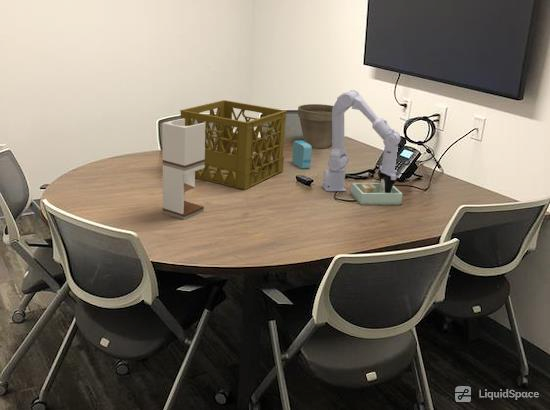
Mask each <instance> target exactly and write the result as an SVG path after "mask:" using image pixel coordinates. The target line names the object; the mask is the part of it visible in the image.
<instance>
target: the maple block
mask: <svg viewBox="0 0 550 410" xmlns="http://www.w3.org/2000/svg"><path fill="white" fill-rule="evenodd" d="M361 191H362V192H363V193H376V187H375V186H374V185H372V184H361Z"/></svg>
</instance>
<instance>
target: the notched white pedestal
mask: <svg viewBox="0 0 550 410" xmlns="http://www.w3.org/2000/svg"><path fill="white" fill-rule="evenodd" d="M205 123H206V122H204V123H200V124H198V123H196V124H194V125H192V126H185V119H184V118H183V119H181V118H179V119H174V120H170V121H169V120H168V121H165V122H162V123H161V124H162V125H161V126H162V130H161V131H162V132H161V133H162V135H161V136H162V213H163V214H165V215H168V216H171V217H174V218H177V219H180V220H183V221H184V220H185V221H186V220H188V219H189V218H192V217H195V216H197V215H199V214H201V213H203V212H204V211H205V208H204V207H205V206H202V205H199V204H197V203H194V202H190V201H187V200H185V194H186V192H188V191H190V190H194V189H195V188H196V187H195V186H196V178H195V171H197V170H199V171H201V170H200V169H203V168H205V149H206V148H205V126H206V125H205Z"/></svg>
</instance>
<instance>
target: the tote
mask: <svg viewBox="0 0 550 410" xmlns="http://www.w3.org/2000/svg"><path fill="white" fill-rule="evenodd" d="M361 184H372V185H374V186H375V187H376V193H363V192H362V191H361ZM379 190H380V182H352V183H351V189H350V195H351V196H352V197H353V198H354V199H355V200H356V202H358V204H359V205H361V206H390V205H391V206H394V205H395V206H401V205H402V200H403V192H401V191H400V190H399V189H398V188H397V187H396V186H395V185H393V187H392V189H391V193H379Z"/></svg>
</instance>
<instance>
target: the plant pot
mask: <svg viewBox="0 0 550 410" xmlns="http://www.w3.org/2000/svg"><path fill="white" fill-rule="evenodd" d="M333 106H334V105H330V104H322V103H320V104H319V103H316V104H314V103H313V104H312V103H310V104H307V103H306V104H302V105H299V106H298V107H297V117H298V118H299V121H300V126H301V128H300V129H301V132H302V138H303V141H304V142H306V143H308V144H310V145H311V147H312V149H313V148H314V149H326V148H329V147H330V146H331V144H332V108H333Z"/></svg>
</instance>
